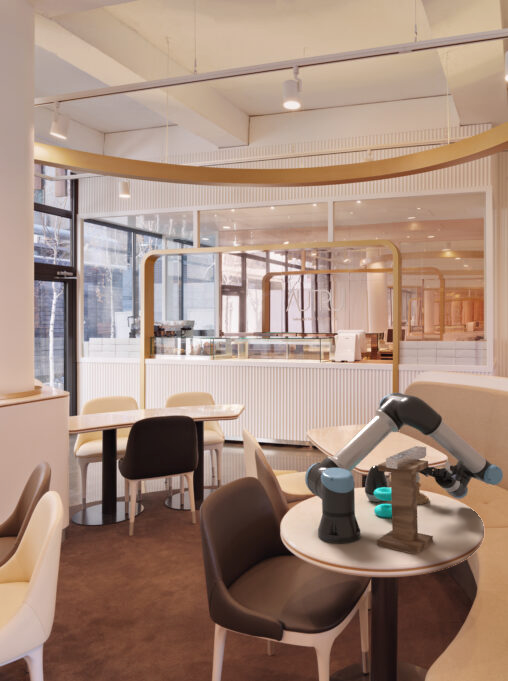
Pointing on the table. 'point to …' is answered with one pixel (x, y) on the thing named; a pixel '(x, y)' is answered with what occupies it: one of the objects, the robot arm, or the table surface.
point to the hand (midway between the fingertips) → (428, 462)
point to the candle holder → (420, 496)
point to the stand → (404, 510)
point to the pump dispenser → (375, 483)
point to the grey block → (405, 457)
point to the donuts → (385, 495)
